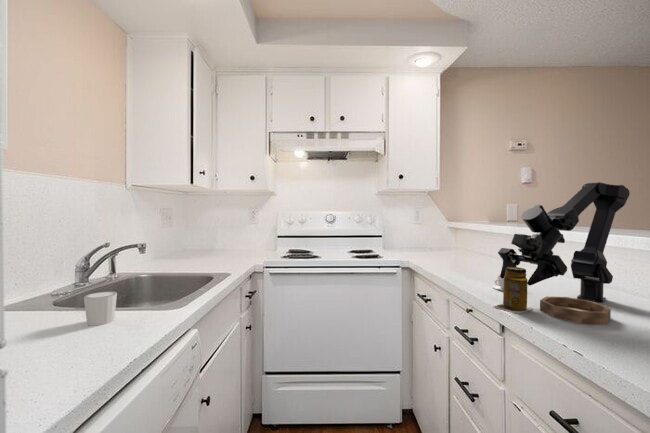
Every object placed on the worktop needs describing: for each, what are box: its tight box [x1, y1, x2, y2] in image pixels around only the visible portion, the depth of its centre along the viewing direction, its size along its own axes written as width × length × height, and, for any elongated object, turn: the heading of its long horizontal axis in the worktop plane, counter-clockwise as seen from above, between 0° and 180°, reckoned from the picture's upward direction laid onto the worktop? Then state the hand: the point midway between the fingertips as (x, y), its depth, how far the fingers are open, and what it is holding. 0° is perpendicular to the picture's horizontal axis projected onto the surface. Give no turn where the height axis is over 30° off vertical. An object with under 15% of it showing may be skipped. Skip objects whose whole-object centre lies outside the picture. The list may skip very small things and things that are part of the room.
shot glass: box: [83, 291, 118, 327], centre depth 79 cm, size 7×7×7 cm
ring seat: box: [539, 296, 612, 326], centre depth 86 cm, size 14×14×3 cm
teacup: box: [492, 274, 504, 292], centre depth 114 cm, size 10×10×5 cm
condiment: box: [493, 266, 533, 315], centre depth 91 cm, size 7×8×12 cm
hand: (514, 280), depth 92 cm, fingers open, 9 cm apart
